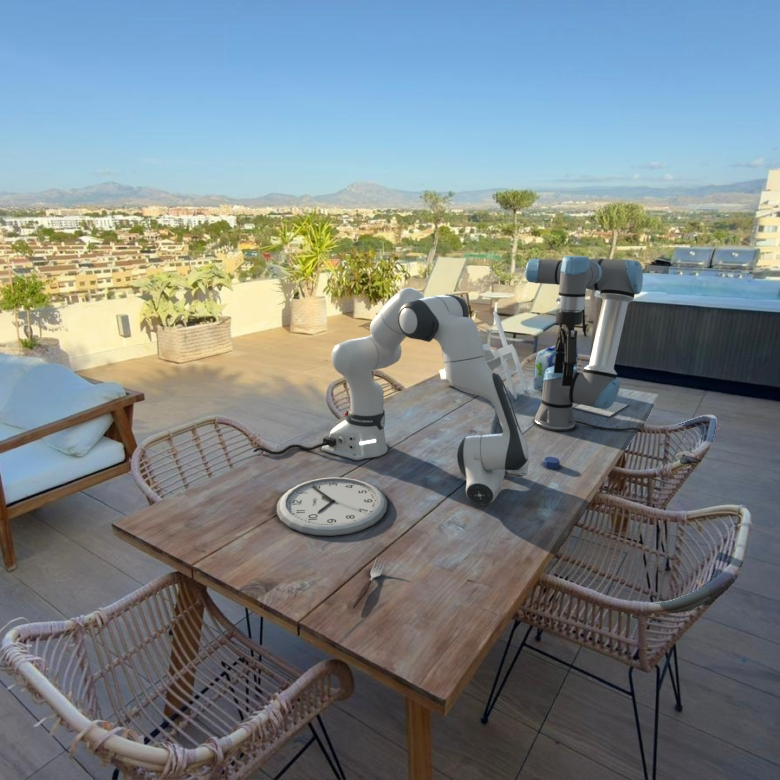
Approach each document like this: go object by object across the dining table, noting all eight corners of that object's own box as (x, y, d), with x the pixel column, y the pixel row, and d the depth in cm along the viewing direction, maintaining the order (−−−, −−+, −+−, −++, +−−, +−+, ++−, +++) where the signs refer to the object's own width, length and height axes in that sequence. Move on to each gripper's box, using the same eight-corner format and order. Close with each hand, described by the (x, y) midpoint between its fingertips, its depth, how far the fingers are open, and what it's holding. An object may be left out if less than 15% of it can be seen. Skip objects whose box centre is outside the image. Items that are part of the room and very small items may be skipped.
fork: (347, 608, 104) (347, 600, 103) (376, 563, 118) (376, 555, 118) (359, 612, 103) (359, 603, 103) (387, 565, 118) (387, 558, 117)
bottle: (503, 468, 166) (509, 403, 160) (502, 475, 162) (508, 408, 155) (488, 466, 167) (493, 402, 161) (487, 473, 163) (492, 407, 156)
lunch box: (550, 397, 237) (555, 352, 231) (529, 391, 245) (533, 348, 238) (577, 386, 255) (582, 344, 249) (556, 381, 262) (561, 340, 256)
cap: (540, 465, 169) (541, 459, 169) (549, 461, 172) (550, 455, 172) (553, 470, 166) (553, 464, 165) (561, 466, 169) (562, 460, 168)
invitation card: (608, 416, 214) (573, 407, 224) (608, 416, 214) (573, 408, 224) (628, 404, 229) (594, 396, 238) (628, 405, 229) (594, 397, 238)
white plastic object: (461, 429, 252) (437, 405, 227) (444, 352, 274) (420, 323, 250) (535, 404, 240) (518, 377, 215) (510, 326, 262) (492, 293, 237)
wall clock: (392, 527, 129) (268, 531, 127) (391, 533, 130) (269, 537, 127) (383, 473, 158) (282, 475, 155) (383, 478, 158) (282, 480, 156)
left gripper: (527, 466, 147) (532, 447, 159) (456, 454, 153) (466, 437, 166) (525, 486, 149) (530, 466, 161) (455, 474, 155) (465, 456, 168)
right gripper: (549, 303, 166) (543, 367, 173) (565, 317, 143) (556, 390, 149) (574, 304, 165) (566, 368, 172) (593, 317, 142) (584, 392, 148)
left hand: (497, 451), depth 164 cm, fingers open, 8 cm apart
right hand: (562, 379), depth 161 cm, fingers open, 13 cm apart
